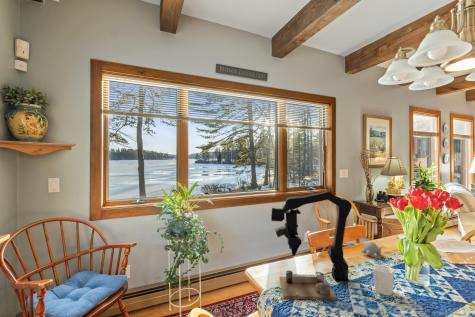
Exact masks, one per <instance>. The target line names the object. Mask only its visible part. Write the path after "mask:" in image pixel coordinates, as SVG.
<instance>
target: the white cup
mask: <svg viewBox="0 0 475 317" xmlns="http://www.w3.org/2000/svg"><path fill="white" fill-rule="evenodd" d="M372 271H373V272H372V273H373V283H374V284H373V285H374V290H375V292H377V293H378V294H381V295H384V296H392V295H393V293H394V292H393V289H394V279H395V278H394V277H395V276H394V275H395V270H394V268H391V267H390V266H387V265H384V264H375V265H373V266H372Z"/></svg>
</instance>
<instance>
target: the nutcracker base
mask: <svg viewBox="0 0 475 317" xmlns="http://www.w3.org/2000/svg"><path fill="white" fill-rule="evenodd" d="M279 283H280V286H281V290H282V297H283V299H287V300H288V299H290V300H292V299H294V300H318V301H319V300H321V301H323V300H324V301H338V296H337V295H336V293H335V291H334V290H333V288H332V287H331V284H330V283H329V282H328V280H327V278H326V277H324V283H320V282H319V283H287V282H286V276H279Z"/></svg>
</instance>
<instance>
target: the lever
mask: <svg viewBox="0 0 475 317" xmlns="http://www.w3.org/2000/svg"><path fill="white" fill-rule="evenodd" d="M285 277H286V282H287V283H319V282H320V283H324V278H325V276H324V273H323V272H321V271H316V272H315V274H301V273H300V274H298V273H297V274H295V273H293V270H286V271H285Z"/></svg>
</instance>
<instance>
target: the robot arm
mask: <svg viewBox="0 0 475 317" xmlns="http://www.w3.org/2000/svg"><path fill="white" fill-rule="evenodd" d="M323 201H329V202H331V203H332V204H334V205H335V209H336V222H335V229H334V236H333V242H332V244H328V250H327V255H328V257H329V259H330V261H331V263H332V268H331V277H332V278H333V279H334V280H335V282H338V283H339V282H341V283H350V279H349V264H348V262H347V261H346V259H345V257H344V249H343V244H344V243H343V242H344V239H345V238H344V237H345V230H346V224H347V218H348V216H349V215H350V213H351V210H352V206H353V205H352V202H350V201H349V200H348V199H346V198H345V197H338V196H337V195H335V194H333V193H332V192H331V191H330V190H325V191H322V192H319V193H318V192H317V193H313V194H309V195H303V196H289V197H287V198H286V199H285V204H284V205H283V206H282V208H279V207H277V208H276V207H272V208H271V214H270V215H271V216H270V217H271V218H270V220H271V222H279V223H280V222H283V221H284V220H285V223H284V225H283V226H280V227H279V226H278V227H277V228H275V229H274V231H275V233H276V237H277V238H280V237H282V236H284V237H285V238H286V240H287V245H288V246H289V247H288V248H289V250H291V255H292V256H293V257H295V256H296V254H297V252H298V250H299V248H300V246H301V245H302V239H301V237H300V236H298V235H299V232H298V227H299V225H298V215H301V210H299V208H300V207H303V206H305V205H308V204H313V203H317V202H323Z"/></svg>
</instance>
